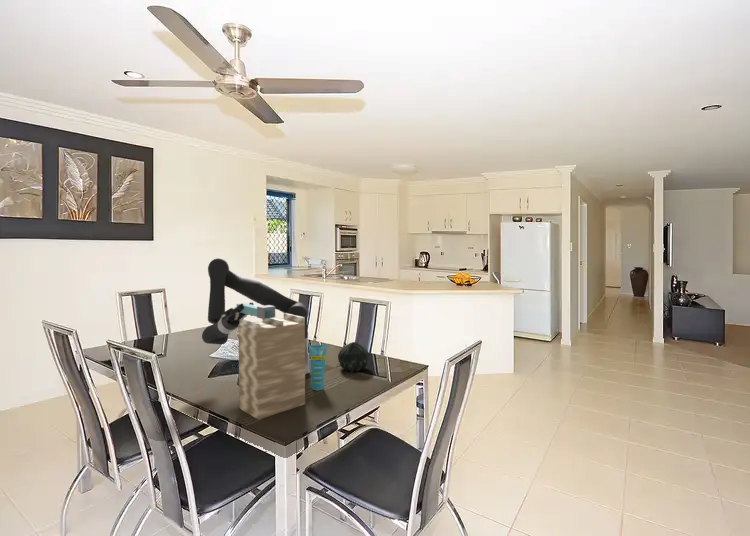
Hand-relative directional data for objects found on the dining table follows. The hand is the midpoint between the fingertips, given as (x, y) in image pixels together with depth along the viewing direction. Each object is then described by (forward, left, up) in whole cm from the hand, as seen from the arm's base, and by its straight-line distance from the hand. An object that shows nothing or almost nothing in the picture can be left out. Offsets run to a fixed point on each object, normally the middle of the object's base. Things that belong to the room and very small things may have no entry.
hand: (247, 305), depth 159 cm
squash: (-56, -13, -39) cm, 69 cm away
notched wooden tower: (-6, +8, -38) cm, 40 cm away
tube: (-29, +1, -39) cm, 49 cm away
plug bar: (-1, +5, -3) cm, 6 cm away
